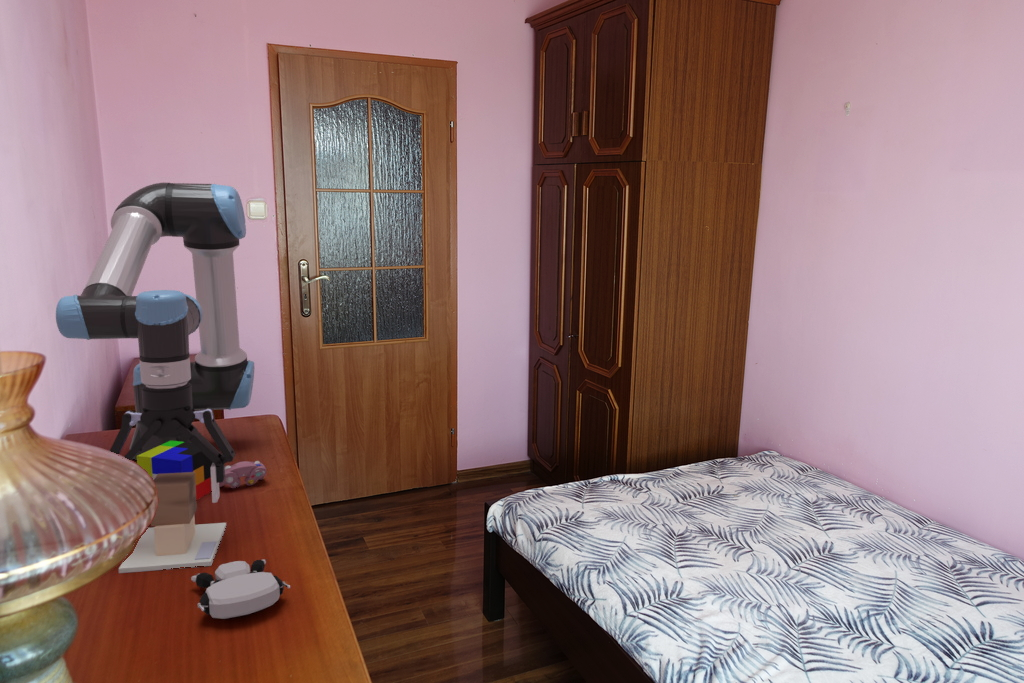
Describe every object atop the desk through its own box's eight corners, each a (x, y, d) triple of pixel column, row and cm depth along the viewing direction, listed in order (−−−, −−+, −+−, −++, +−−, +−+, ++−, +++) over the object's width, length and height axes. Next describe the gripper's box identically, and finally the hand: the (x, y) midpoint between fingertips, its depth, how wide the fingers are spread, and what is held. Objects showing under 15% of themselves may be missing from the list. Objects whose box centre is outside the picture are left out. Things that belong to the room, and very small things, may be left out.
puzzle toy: (183, 508, 137) (181, 460, 135) (139, 503, 139) (136, 455, 137) (214, 489, 146) (212, 444, 145) (173, 484, 148) (170, 440, 147)
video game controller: (219, 498, 146) (220, 475, 142) (214, 482, 149) (216, 459, 145) (267, 489, 151) (269, 466, 148) (262, 474, 154) (264, 451, 151)
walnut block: (160, 511, 122) (158, 473, 121) (196, 509, 123) (194, 471, 122) (151, 526, 116) (148, 486, 115) (189, 523, 117) (187, 484, 116)
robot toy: (188, 594, 108) (204, 637, 96) (186, 566, 108) (202, 606, 95) (268, 574, 115) (293, 612, 102) (266, 548, 114) (291, 583, 102)
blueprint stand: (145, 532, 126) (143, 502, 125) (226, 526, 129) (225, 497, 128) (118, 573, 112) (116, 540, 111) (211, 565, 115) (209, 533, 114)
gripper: (74, 391, 109) (86, 516, 113) (242, 387, 115) (247, 506, 119) (91, 379, 116) (101, 497, 120) (248, 376, 122) (253, 489, 126)
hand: (174, 502), depth 119 cm, fingers open, 13 cm apart
